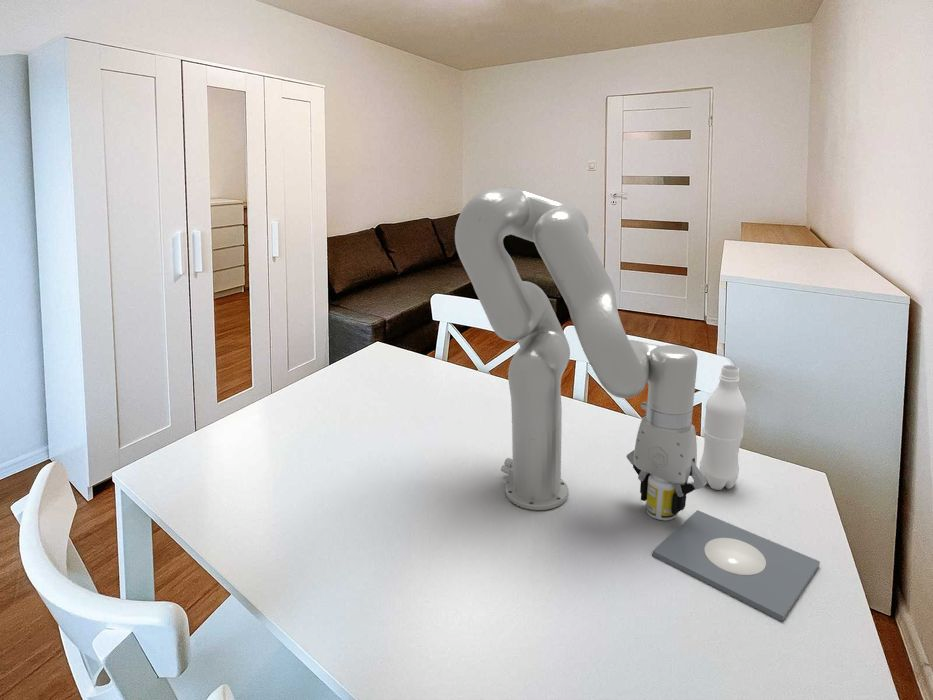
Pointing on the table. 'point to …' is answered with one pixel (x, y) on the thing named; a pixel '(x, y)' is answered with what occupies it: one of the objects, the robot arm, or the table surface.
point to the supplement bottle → (660, 498)
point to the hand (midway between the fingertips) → (661, 503)
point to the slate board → (739, 563)
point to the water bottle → (723, 431)
